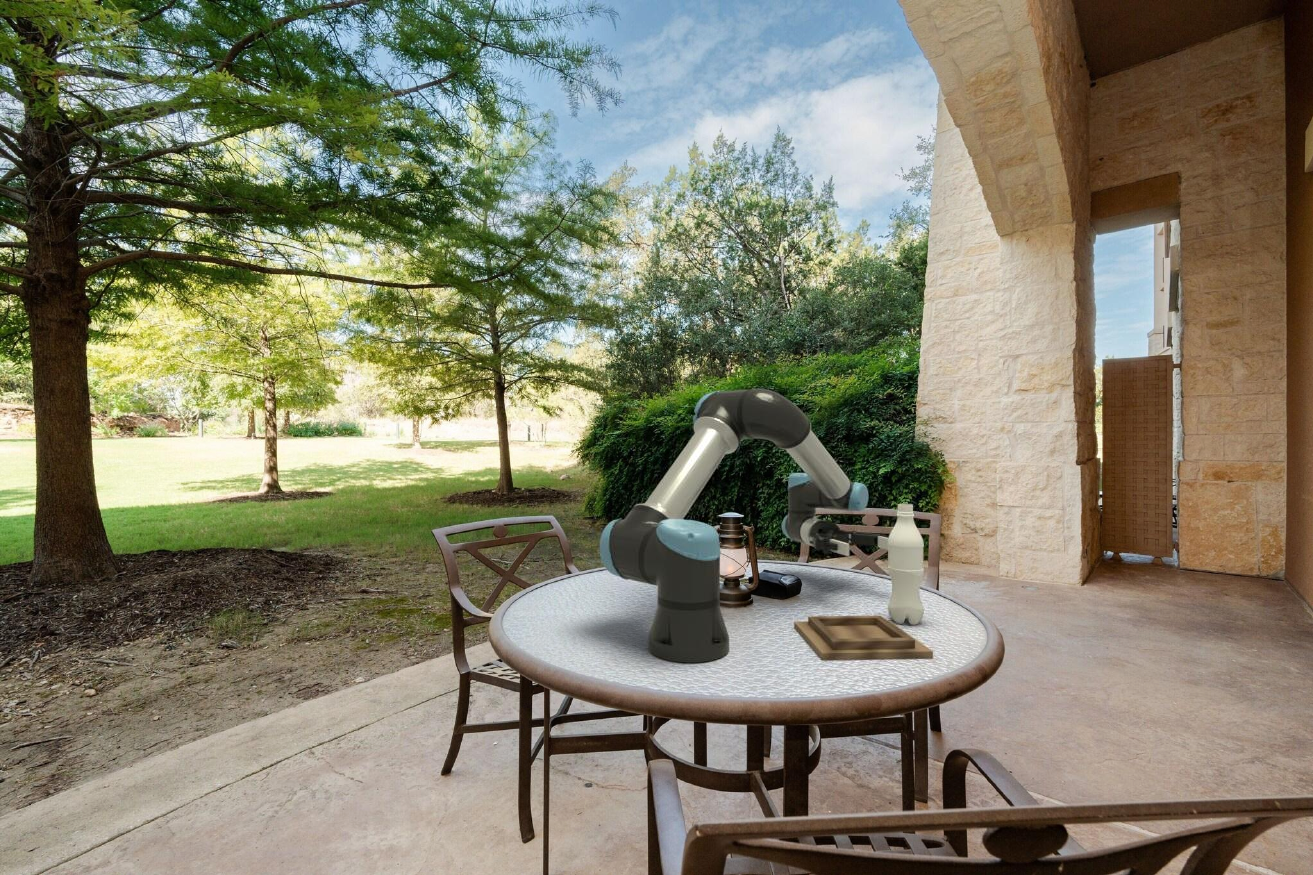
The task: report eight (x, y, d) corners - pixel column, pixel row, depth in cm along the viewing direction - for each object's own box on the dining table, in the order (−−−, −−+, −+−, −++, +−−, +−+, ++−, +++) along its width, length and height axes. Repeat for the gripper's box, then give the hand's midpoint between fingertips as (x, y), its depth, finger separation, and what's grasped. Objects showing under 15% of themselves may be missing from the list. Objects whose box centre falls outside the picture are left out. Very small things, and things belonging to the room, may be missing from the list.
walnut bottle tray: (822, 660, 104) (822, 644, 104) (794, 627, 122) (794, 614, 122) (932, 658, 104) (932, 642, 104) (888, 626, 122) (888, 613, 122)
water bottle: (888, 624, 123) (888, 505, 123) (886, 615, 130) (886, 502, 130) (926, 628, 121) (925, 507, 121) (922, 618, 128) (921, 503, 128)
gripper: (779, 522, 153) (826, 534, 132) (861, 517, 160) (917, 529, 140) (779, 550, 153) (826, 568, 132) (861, 545, 160) (917, 560, 140)
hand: (873, 548), depth 136 cm, fingers open, 13 cm apart
